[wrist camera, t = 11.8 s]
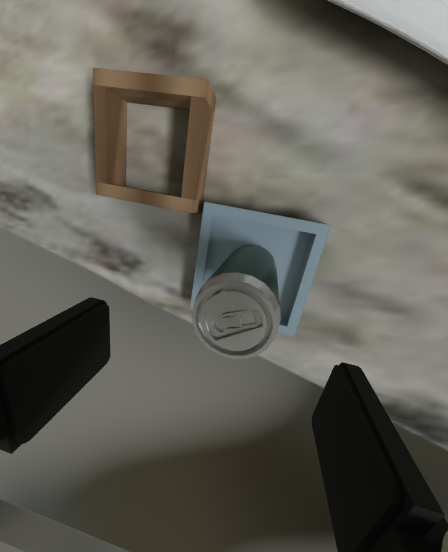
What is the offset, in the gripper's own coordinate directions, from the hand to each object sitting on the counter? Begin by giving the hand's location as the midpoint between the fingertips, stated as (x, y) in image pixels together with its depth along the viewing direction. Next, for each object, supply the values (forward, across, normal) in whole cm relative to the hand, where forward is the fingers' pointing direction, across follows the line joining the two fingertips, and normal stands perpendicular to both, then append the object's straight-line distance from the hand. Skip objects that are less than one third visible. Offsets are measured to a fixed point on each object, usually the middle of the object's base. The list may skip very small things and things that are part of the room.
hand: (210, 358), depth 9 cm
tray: (+16, -1, +1) cm, 16 cm away
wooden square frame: (+17, +11, -9) cm, 22 cm away
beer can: (+16, -1, +1) cm, 16 cm away
